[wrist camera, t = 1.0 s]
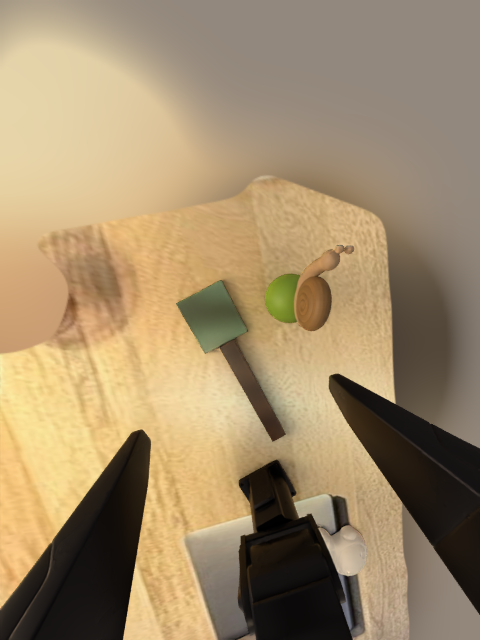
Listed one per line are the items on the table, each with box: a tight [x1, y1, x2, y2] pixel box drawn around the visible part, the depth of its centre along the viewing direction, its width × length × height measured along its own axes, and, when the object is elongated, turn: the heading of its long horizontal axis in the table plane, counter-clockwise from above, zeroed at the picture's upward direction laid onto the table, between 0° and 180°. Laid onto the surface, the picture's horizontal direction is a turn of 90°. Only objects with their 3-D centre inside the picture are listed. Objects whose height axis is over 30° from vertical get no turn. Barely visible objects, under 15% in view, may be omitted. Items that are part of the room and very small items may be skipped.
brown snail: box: [265, 245, 354, 331], centre depth 18 cm, size 5×6×12 cm
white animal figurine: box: [318, 525, 367, 576], centre depth 29 cm, size 9×12×3 cm
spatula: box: [176, 280, 286, 441], centre depth 24 cm, size 22×6×1 cm, turn 27°
